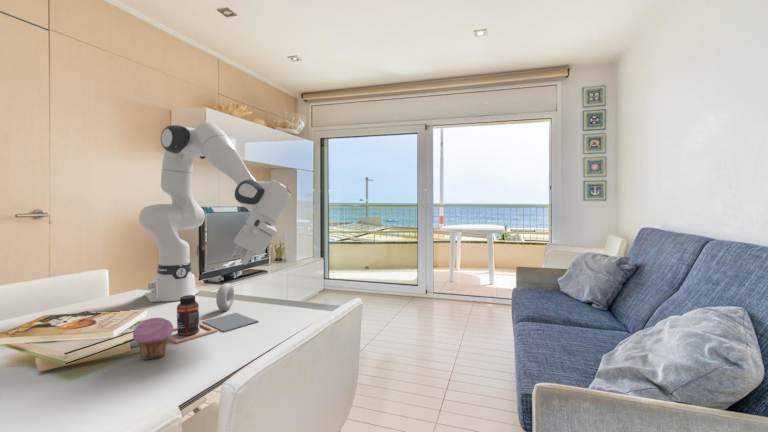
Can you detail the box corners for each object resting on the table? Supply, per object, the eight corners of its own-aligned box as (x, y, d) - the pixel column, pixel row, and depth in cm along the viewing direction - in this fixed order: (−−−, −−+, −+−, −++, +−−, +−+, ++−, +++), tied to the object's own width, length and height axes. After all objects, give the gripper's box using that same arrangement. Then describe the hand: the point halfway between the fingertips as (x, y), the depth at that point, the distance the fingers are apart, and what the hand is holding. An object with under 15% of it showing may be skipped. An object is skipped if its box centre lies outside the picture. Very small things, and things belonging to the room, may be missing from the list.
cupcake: (131, 366, 88) (131, 326, 87) (135, 353, 95) (134, 316, 95) (174, 358, 92) (173, 320, 92) (173, 346, 100) (173, 311, 99)
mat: (202, 322, 119) (202, 321, 119) (235, 313, 129) (235, 312, 129) (224, 332, 111) (224, 331, 111) (258, 322, 120) (258, 320, 120)
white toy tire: (224, 314, 128) (223, 286, 127) (214, 314, 128) (214, 286, 128) (236, 306, 138) (235, 280, 137) (227, 306, 138) (227, 280, 138)
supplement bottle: (203, 329, 113) (203, 294, 112) (191, 337, 107) (190, 299, 106) (185, 329, 113) (185, 293, 113) (172, 336, 107) (172, 298, 107)
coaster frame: (158, 333, 109) (158, 332, 109) (199, 323, 118) (199, 321, 118) (176, 343, 102) (176, 341, 102) (217, 331, 111) (217, 329, 111)
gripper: (242, 217, 129) (221, 251, 125) (262, 223, 113) (239, 263, 109) (257, 225, 132) (237, 259, 129) (279, 232, 116) (257, 271, 113)
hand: (238, 261), depth 119 cm, fingers open, 8 cm apart
